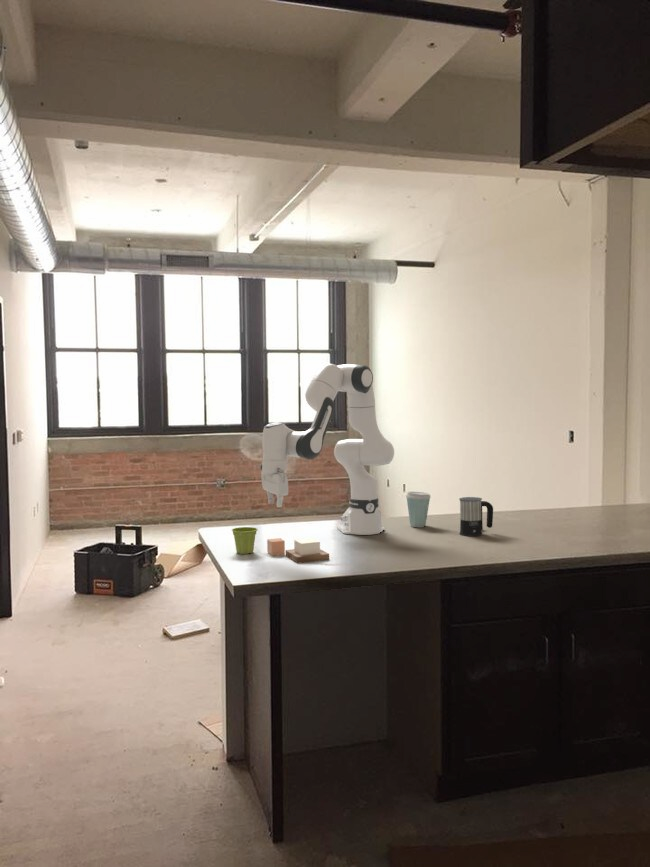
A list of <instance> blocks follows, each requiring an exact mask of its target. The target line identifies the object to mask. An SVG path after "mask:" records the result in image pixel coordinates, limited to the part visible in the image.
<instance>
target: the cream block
mask: <svg viewBox="0 0 650 867" xmlns="http://www.w3.org/2000/svg"><path fill="white" fill-rule="evenodd" d="M293 542H294V550H295V552H297V553H299V554H300V555H307V554H316V553H320V549H321V542H320V541H319V540H317V539H315V538H313V537H310V538H302V539H293Z"/></svg>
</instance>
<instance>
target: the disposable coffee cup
mask: <svg viewBox="0 0 650 867" xmlns="http://www.w3.org/2000/svg"><path fill="white" fill-rule="evenodd" d="M405 496H406V497H405V498H406V502H407V503H406V504H407V509H408V510H407V511H408V518H409V523H410V526H411V527H412V528H423V527H424V526H425V527H426V524H427V519H428V518H427V517H428V514H429V513H428V511H429V507H430V506H429V505H430V501H431V500H430V499H431V494H430V493H427V492H424V491H407V493H406V495H405Z"/></svg>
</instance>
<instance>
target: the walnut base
mask: <svg viewBox="0 0 650 867" xmlns="http://www.w3.org/2000/svg"><path fill="white" fill-rule="evenodd" d="M285 556H286V557H287V556H288V557H287V558H289V559H290V558H291V559H290V560H292V561H293V560H294V561H293V562H295V563H296V562H297V563H296V564H299V563H298V562H302V563H310V561H311V562H320V561H328V560H330V553H328V552H326V551H324V550H323V549H321V548H320V553H316V554H307V555H300V554H299V553H297V552H295V550H294V549H286V550H285ZM319 560H320V561H319Z"/></svg>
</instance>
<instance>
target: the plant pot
mask: <svg viewBox="0 0 650 867" xmlns="http://www.w3.org/2000/svg"><path fill="white" fill-rule="evenodd" d="M231 531H232V535H233V538H234V544H235V551H236V553H237V554H240V555H249V554H253V553H254V548H255V541H256V535H257V531H259V530H258V527H250V526H242V527H241V526H240V527H234V528H232V529H231Z"/></svg>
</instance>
